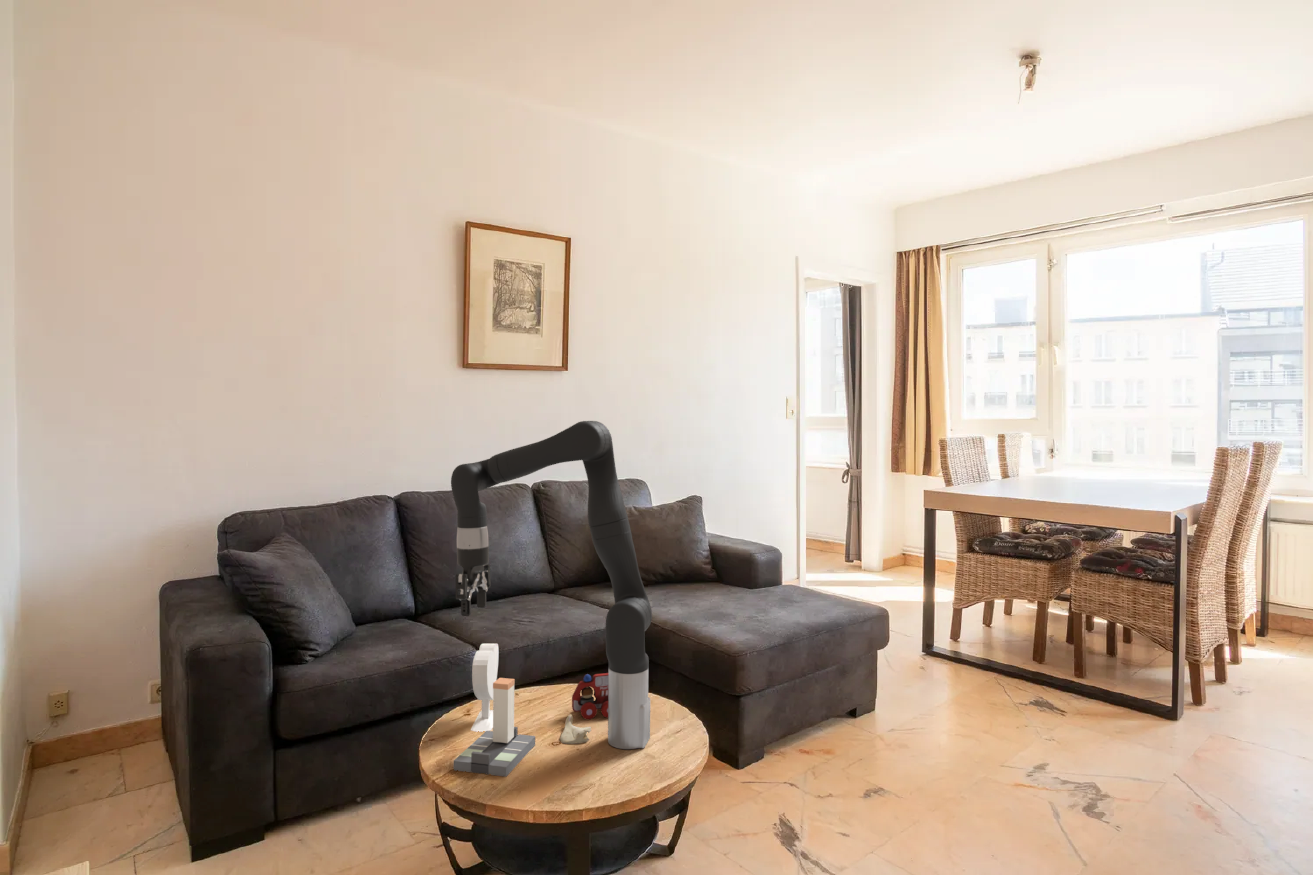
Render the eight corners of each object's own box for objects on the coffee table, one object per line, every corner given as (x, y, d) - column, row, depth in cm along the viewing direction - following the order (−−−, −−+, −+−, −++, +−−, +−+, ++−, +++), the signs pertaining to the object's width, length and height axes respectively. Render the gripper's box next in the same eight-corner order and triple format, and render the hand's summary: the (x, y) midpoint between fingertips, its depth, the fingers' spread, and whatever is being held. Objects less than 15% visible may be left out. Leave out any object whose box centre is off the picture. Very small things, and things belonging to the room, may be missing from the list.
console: (535, 744, 176) (535, 727, 176) (506, 776, 160) (506, 757, 160) (486, 739, 179) (486, 722, 178) (453, 769, 163) (453, 751, 163)
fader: (514, 736, 175) (514, 679, 174) (507, 743, 171) (508, 684, 171) (499, 734, 175) (499, 677, 175) (492, 741, 172) (492, 682, 172)
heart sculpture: (481, 708, 197) (481, 638, 197) (501, 708, 197) (501, 638, 197) (468, 733, 182) (468, 657, 181) (490, 733, 182) (490, 657, 181)
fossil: (592, 726, 188) (592, 712, 187) (589, 745, 177) (589, 730, 177) (564, 726, 187) (564, 712, 187) (559, 745, 177) (559, 730, 177)
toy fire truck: (570, 710, 196) (570, 670, 196) (617, 706, 199) (618, 667, 199) (573, 721, 190) (574, 679, 189) (623, 717, 193) (623, 676, 192)
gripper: (473, 550, 179) (475, 619, 180) (499, 540, 193) (500, 605, 194) (444, 549, 181) (446, 618, 181) (471, 540, 195) (473, 603, 195)
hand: (474, 611), depth 188 cm, fingers open, 8 cm apart
